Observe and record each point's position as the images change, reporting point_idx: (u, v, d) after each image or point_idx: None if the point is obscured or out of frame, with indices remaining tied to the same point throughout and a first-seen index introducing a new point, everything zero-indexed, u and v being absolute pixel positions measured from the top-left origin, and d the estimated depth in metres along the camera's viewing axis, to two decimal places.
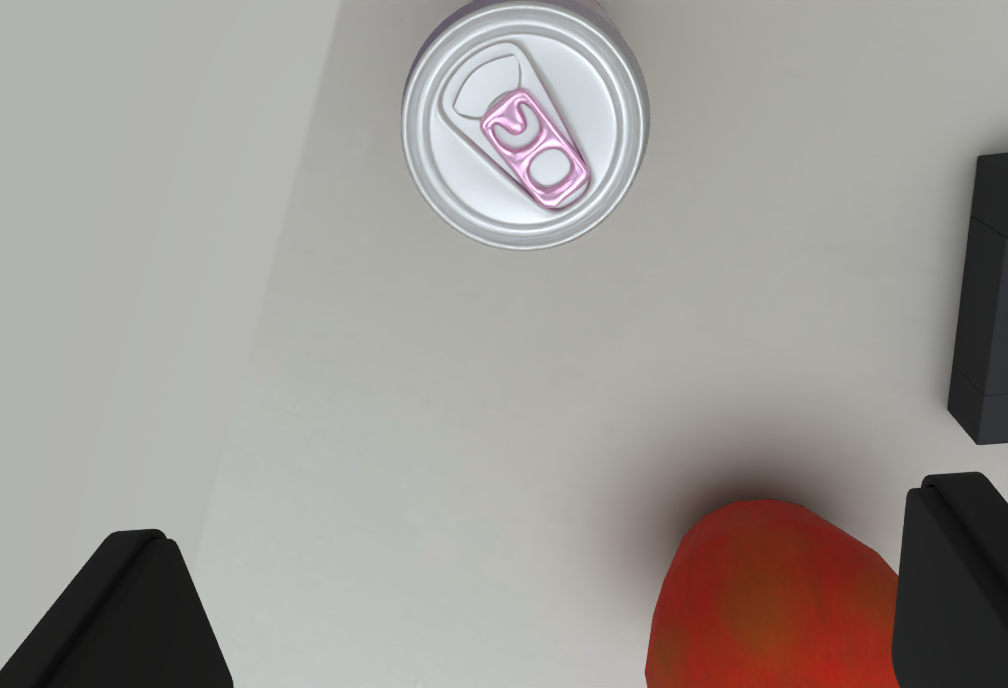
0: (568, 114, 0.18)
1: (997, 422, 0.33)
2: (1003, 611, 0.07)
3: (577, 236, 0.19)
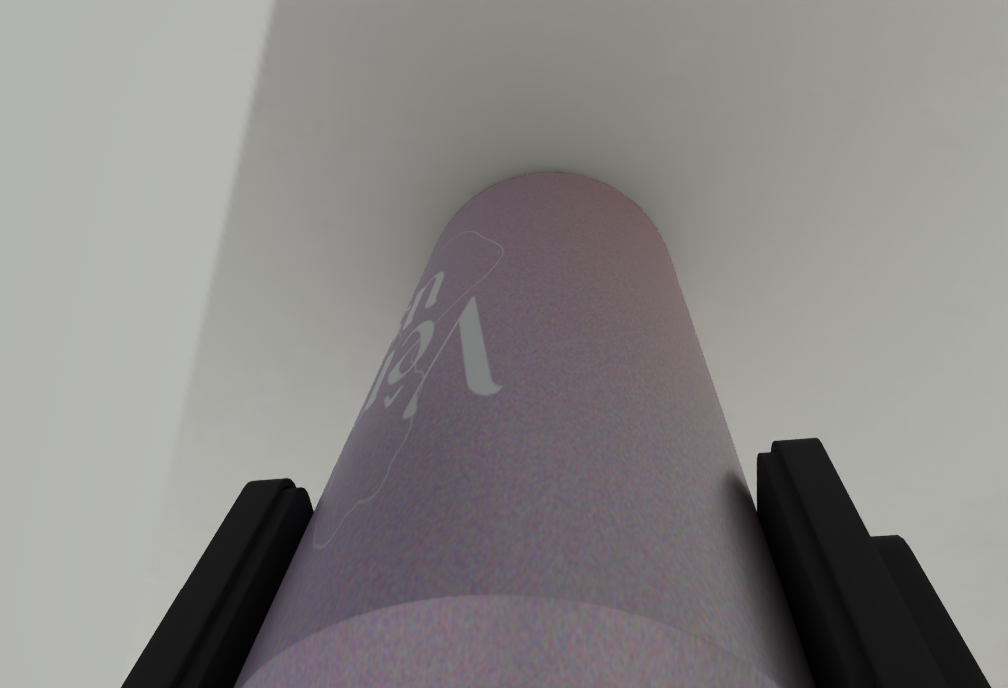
0: None
1: None
2: (805, 553, 0.08)
3: None
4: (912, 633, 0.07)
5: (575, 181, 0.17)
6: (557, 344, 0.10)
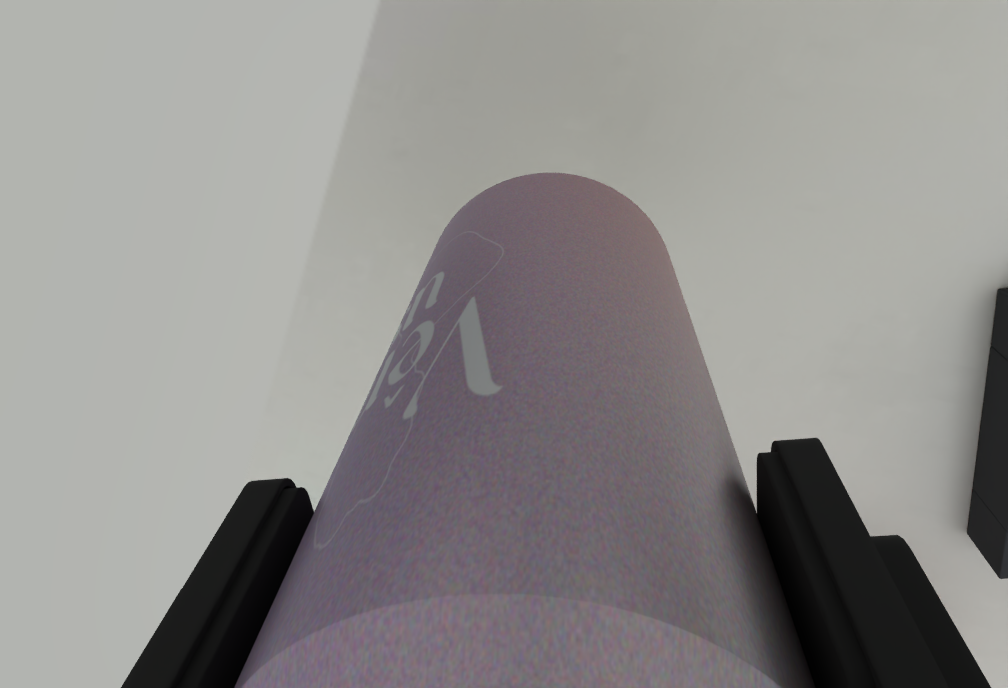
0: None
1: None
2: (805, 553, 0.08)
3: None
4: (912, 633, 0.07)
5: (575, 181, 0.17)
6: (557, 344, 0.10)
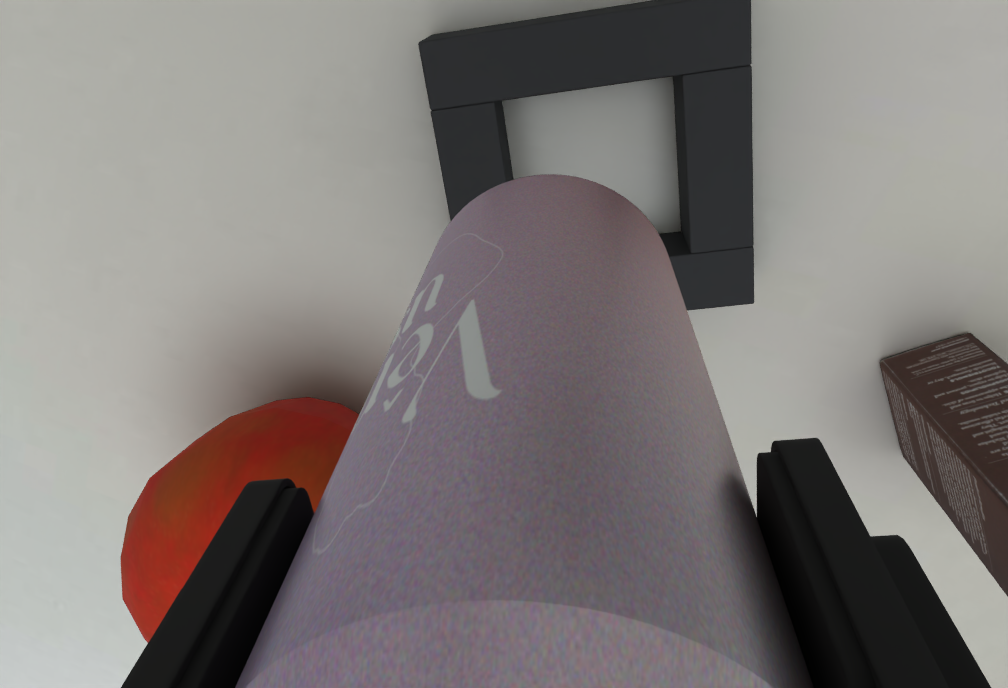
0: None
1: None
2: (805, 553, 0.08)
3: None
4: (912, 633, 0.07)
5: (574, 183, 0.17)
6: (556, 347, 0.10)
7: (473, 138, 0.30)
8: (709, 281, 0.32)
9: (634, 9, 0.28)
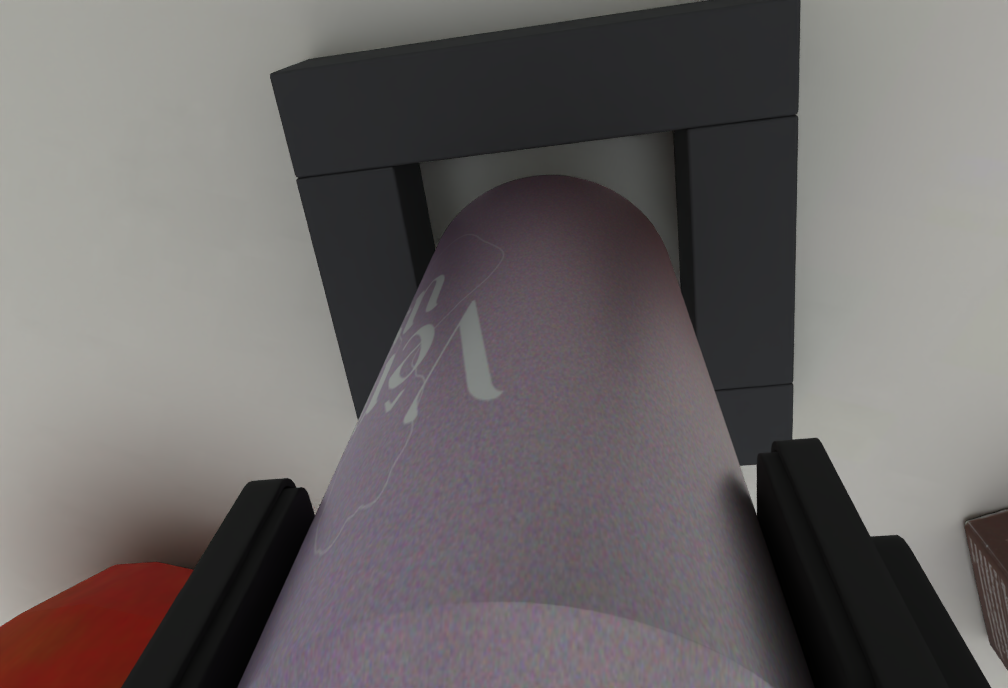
0: None
1: None
2: (805, 553, 0.08)
3: None
4: (912, 633, 0.07)
5: (575, 184, 0.17)
6: (557, 349, 0.10)
7: (363, 220, 0.20)
8: None
9: (610, 24, 0.17)
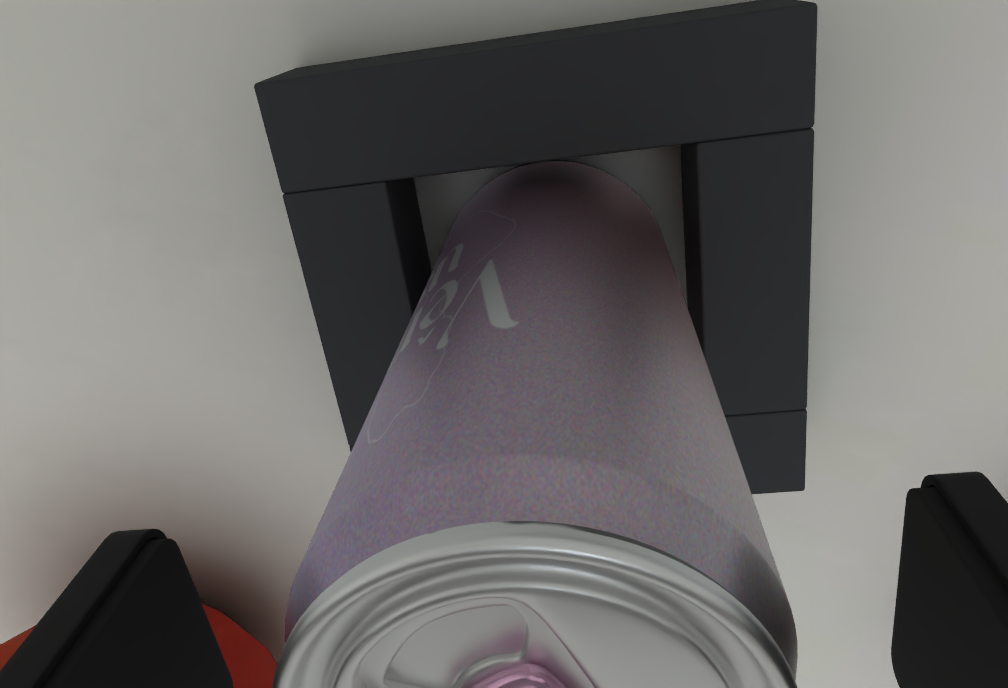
0: None
1: None
2: (1003, 611, 0.07)
3: None
4: None
5: (578, 169, 0.19)
6: (563, 292, 0.12)
7: (353, 237, 0.19)
8: None
9: (615, 32, 0.16)
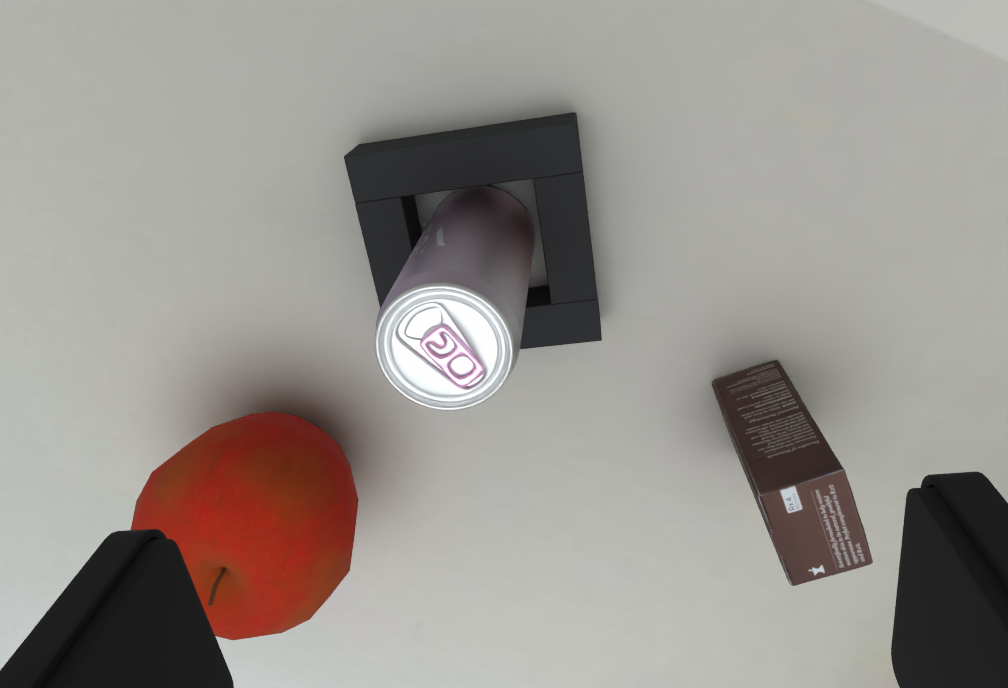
0: (470, 339, 0.31)
1: None
2: (1003, 611, 0.07)
3: (479, 403, 0.32)
4: None
5: (488, 189, 0.42)
6: (463, 236, 0.35)
7: (386, 222, 0.41)
8: (567, 324, 0.43)
9: (495, 134, 0.39)
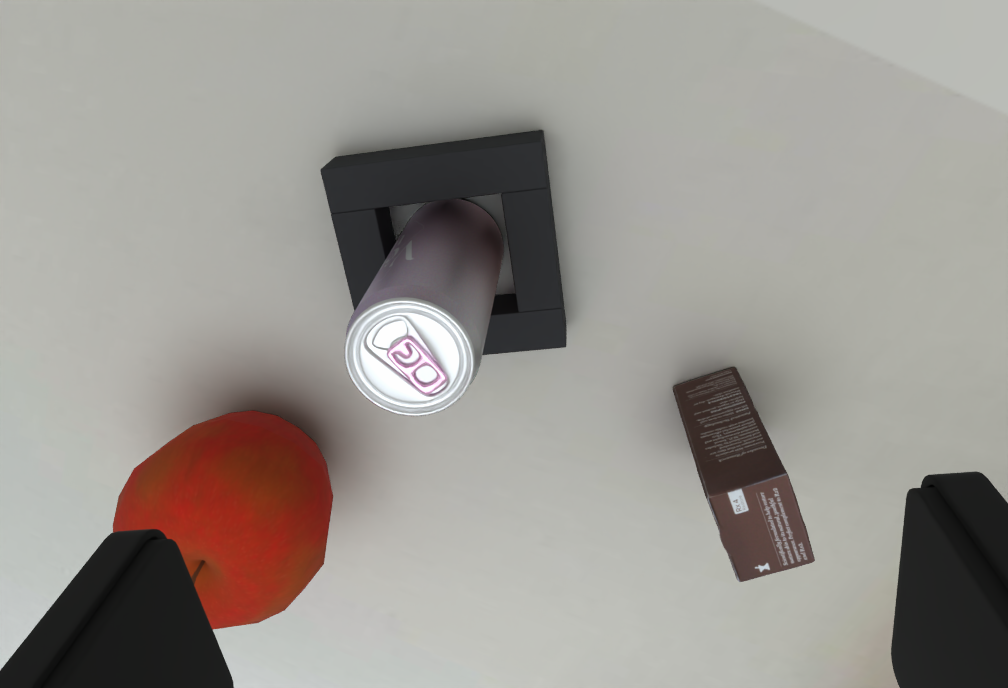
0: (433, 350, 0.33)
1: None
2: (1003, 611, 0.07)
3: (442, 409, 0.34)
4: None
5: (458, 202, 0.44)
6: (430, 250, 0.37)
7: (361, 232, 0.43)
8: (533, 331, 0.45)
9: (465, 151, 0.41)
